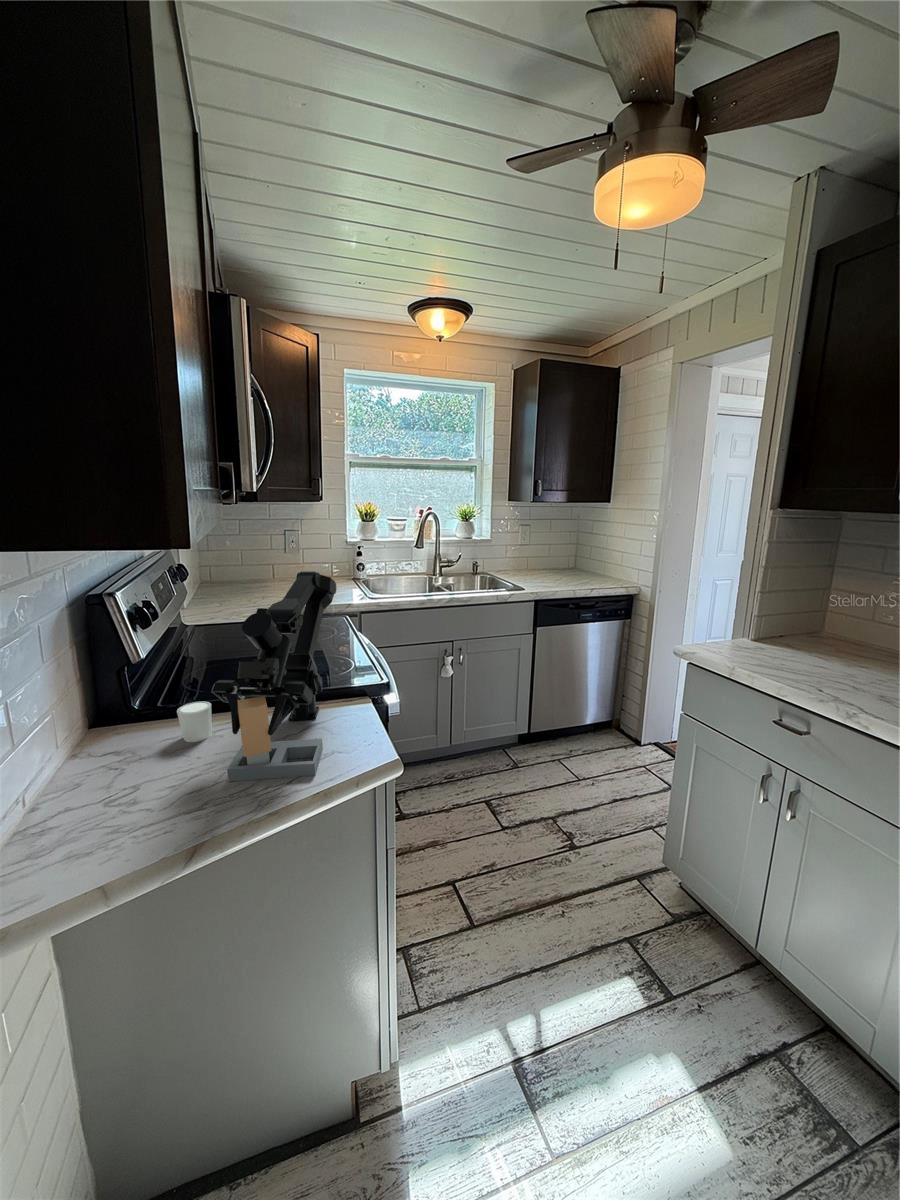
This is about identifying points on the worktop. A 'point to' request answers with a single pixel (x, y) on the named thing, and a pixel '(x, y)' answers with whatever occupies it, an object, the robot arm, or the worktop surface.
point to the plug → (254, 730)
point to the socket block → (279, 761)
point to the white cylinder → (195, 721)
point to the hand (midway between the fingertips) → (251, 734)
